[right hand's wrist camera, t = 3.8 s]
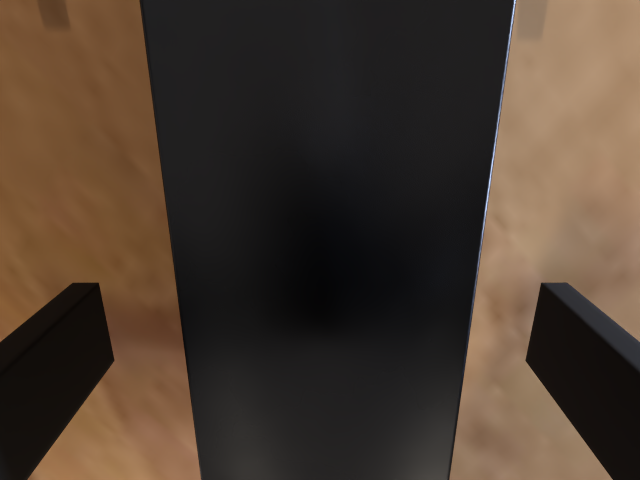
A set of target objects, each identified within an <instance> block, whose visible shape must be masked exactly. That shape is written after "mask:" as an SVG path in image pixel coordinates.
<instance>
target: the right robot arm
mask: <svg viewBox="0 0 640 480" xmlns="http://www.w3.org/2000/svg"><path fill="white" fill-rule="evenodd" d="M113 362H114V356H113V351H112V346H111V341H110V336H109V331H108V326H107V321H106V316H105V312H104V307H103V302H102V297H101V292H100V287H99V283H72V284H71V285H70V286H68V287H67V288H66V289H65V290H63V291H62V292H61V293H60V294H59V295H57V296H56V297H55V298H54V299H52V300H51V301H50V302H49V303H48V304H46V305H45V306H44V307H43V308H41V309H40V310H39V311H38V312H37V313H35V314H34V315H33V316H32V317H30V318H29V319H28V320H27V321H26V322H24V323H23V324H22V325H21V326H19V327H18V328H17V329H16V330H15V331H13V332H12V333H11V334H10V335H8V336H7V337H6V338H5V339H4V340H2V341H1V342H0V480H27V479H28V478H29V476H30V475H31V474H32V472H33V471H34V470H35V468H36V467H37V465H38V464H39V463H40V461H41V460H42V459H43V457H44V456H45V455H46V453H47V452H48V450H49V449H50V448H51V446H52V445H53V444H54V442H55V441H56V440H57V438H58V437H59V436H60V434H61V433H62V431H63V430H64V429H65V427H66V426H67V425H68V423H69V422H70V421H71V419H72V418H73V416H74V415H75V414H76V412H77V411H78V410H79V408H80V407H81V406H82V404H83V403H84V401H85V400H86V399H87V397H88V396H89V395H90V393H91V392H92V391H93V389H94V388H95V386H96V385H97V384H98V382H99V381H100V380H101V378H102V377H103V376H104V374H105V373H106V371H107V370H108V369H109V367H110V366H111V365H112V363H113ZM526 362H527V363H528V365H529V366H530V367H531V369H532V370H533V371H534V373H535V374H536V376H537V377H538V378H539V380H540V381H541V382H542V384H543V385H544V386H545V388H546V389H547V391H548V392H549V393H550V395H551V396H552V397H553V399H554V400H555V401H556V403H557V404H558V406H559V407H560V408H561V410H562V411H563V412H564V414H565V415H566V416H567V418H568V419H569V421H570V422H571V423H572V425H573V426H574V427H575V429H576V430H577V431H578V433H579V434H580V436H581V437H582V438H583V440H584V441H585V442H586V444H587V445H588V446H589V448H590V449H591V450H592V452H593V453H594V455H595V456H596V457H597V459H598V460H599V461H600V463H601V464H602V465H603V467H604V468H605V470H606V471H607V472H608V474H609V475H610V476H611V478H612V479H613V480H640V342H639V341H638V340H636V339H635V338H634V337H633V336H632V335H630V334H629V333H628V332H627V331H625V330H624V329H623V328H622V327H621V326H619V325H618V324H617V323H616V322H614V321H613V320H612V319H611V318H610V317H608V316H607V315H606V314H605V313H603V312H602V311H601V310H600V309H599V308H597V307H596V306H595V305H594V304H592V303H591V302H590V301H589V300H588V299H586V298H585V297H584V296H583V295H581V294H580V293H579V292H578V291H577V290H575V289H574V288H573V287H572V286H570V285H569V284H568V283H541V287H540V292H539V297H538V302H537V307H536V312H535V316H534V321H533V326H532V331H531V336H530V341H529V346H528V351H527V356H526Z"/></svg>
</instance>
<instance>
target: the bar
mask: <svg viewBox="0 0 640 480" xmlns="http://www.w3.org/2000/svg"><path fill="white" fill-rule="evenodd" d="M515 6H516V0H140V8H141V15H142V23H143V31H144V39H145V46H146V54H147V62H148V70H149V78H150V85H151V93H152V101H153V109H154V116H155V124H156V132H157V140H158V147H159V155H160V163H161V171H162V179H163V186H164V194H165V202H166V210H167V217H168V225H169V233H170V241H171V249H172V256H173V264H174V272H175V280H176V287H177V295H178V303H179V311H180V319H181V326H182V334H183V342H184V350H185V357H186V365H187V373H188V381H189V388H190V396H191V404H192V412H193V420H194V427H195V435H196V443H197V451H198V458H199V466H200V474H201V480H449V478H450V470H451V463H452V456H453V449H454V442H455V435H456V428H457V420H458V413H459V406H460V399H461V392H462V385H463V378H464V370H465V363H466V356H467V349H468V342H469V335H470V328H471V320H472V313H473V306H474V299H475V292H476V285H477V277H478V270H479V263H480V256H481V249H482V242H483V235H484V227H485V220H486V213H487V206H488V199H489V192H490V185H491V177H492V170H493V163H494V156H495V149H496V142H497V135H498V127H499V120H500V113H501V106H502V99H503V92H504V85H505V77H506V70H507V63H508V56H509V49H510V42H511V34H512V27H513V20H514V13H515Z"/></svg>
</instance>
